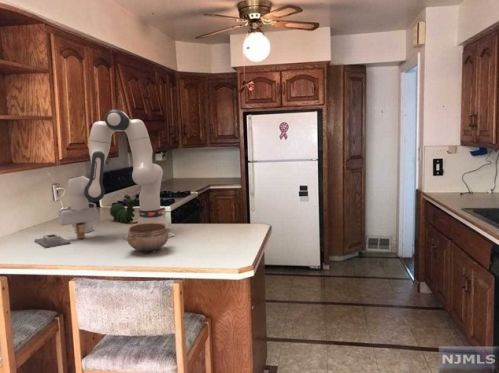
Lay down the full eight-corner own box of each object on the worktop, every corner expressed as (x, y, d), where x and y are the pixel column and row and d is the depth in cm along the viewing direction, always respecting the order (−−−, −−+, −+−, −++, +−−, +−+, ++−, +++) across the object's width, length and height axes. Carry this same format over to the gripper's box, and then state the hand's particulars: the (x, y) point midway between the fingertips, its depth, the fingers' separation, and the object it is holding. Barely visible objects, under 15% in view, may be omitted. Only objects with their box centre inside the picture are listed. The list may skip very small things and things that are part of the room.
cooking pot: (135, 260, 188) (133, 233, 186) (114, 252, 201) (113, 227, 200) (182, 249, 205) (180, 224, 203) (160, 242, 218) (159, 219, 217)
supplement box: (86, 233, 245) (85, 211, 244) (75, 232, 247) (73, 211, 245) (93, 230, 252) (92, 209, 251) (82, 230, 254) (80, 209, 252)
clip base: (70, 243, 221) (69, 237, 221) (45, 248, 213) (45, 241, 213) (58, 237, 236) (57, 231, 236) (34, 241, 228) (34, 235, 228)
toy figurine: (138, 225, 272) (118, 217, 290) (138, 195, 269) (117, 189, 286) (125, 227, 265) (105, 219, 283) (124, 197, 262) (104, 190, 279)
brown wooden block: (84, 237, 231) (83, 223, 230) (80, 238, 229) (79, 223, 228) (81, 236, 235) (80, 221, 234) (76, 237, 233) (75, 222, 232)
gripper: (60, 209, 221) (62, 235, 222) (98, 203, 234) (100, 228, 236) (56, 207, 225) (58, 233, 227) (94, 202, 239) (96, 227, 240)
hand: (80, 230), depth 232 cm, fingers closed on brown wooden block, 2 cm apart
